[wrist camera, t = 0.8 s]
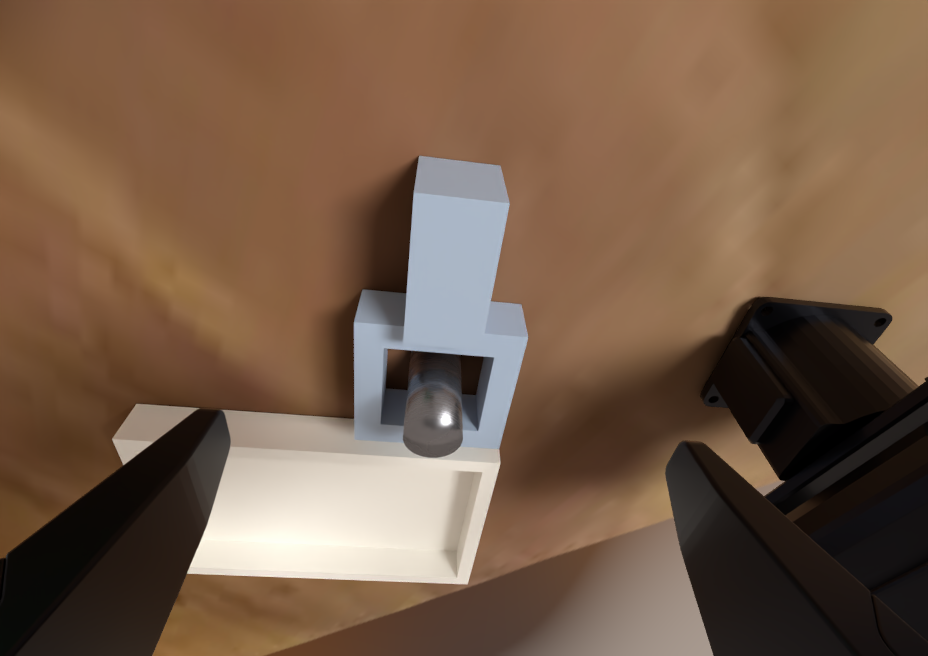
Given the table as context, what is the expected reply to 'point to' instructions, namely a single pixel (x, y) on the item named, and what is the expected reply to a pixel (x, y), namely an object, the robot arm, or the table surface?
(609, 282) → the table surface
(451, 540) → the tray
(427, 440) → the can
